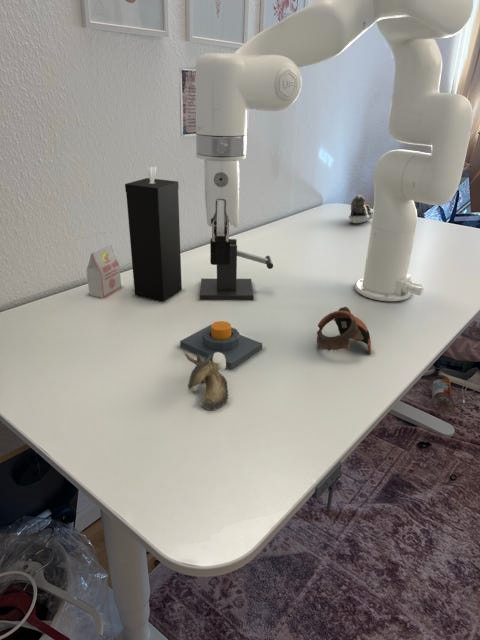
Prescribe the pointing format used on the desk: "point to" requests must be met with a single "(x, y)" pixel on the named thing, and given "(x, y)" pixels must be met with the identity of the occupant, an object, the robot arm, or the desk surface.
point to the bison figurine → (360, 210)
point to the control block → (222, 346)
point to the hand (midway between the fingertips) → (220, 263)
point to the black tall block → (154, 236)
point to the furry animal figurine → (210, 380)
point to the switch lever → (256, 258)
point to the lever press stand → (227, 282)
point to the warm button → (221, 330)
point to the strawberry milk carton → (103, 273)
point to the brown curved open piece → (343, 331)
